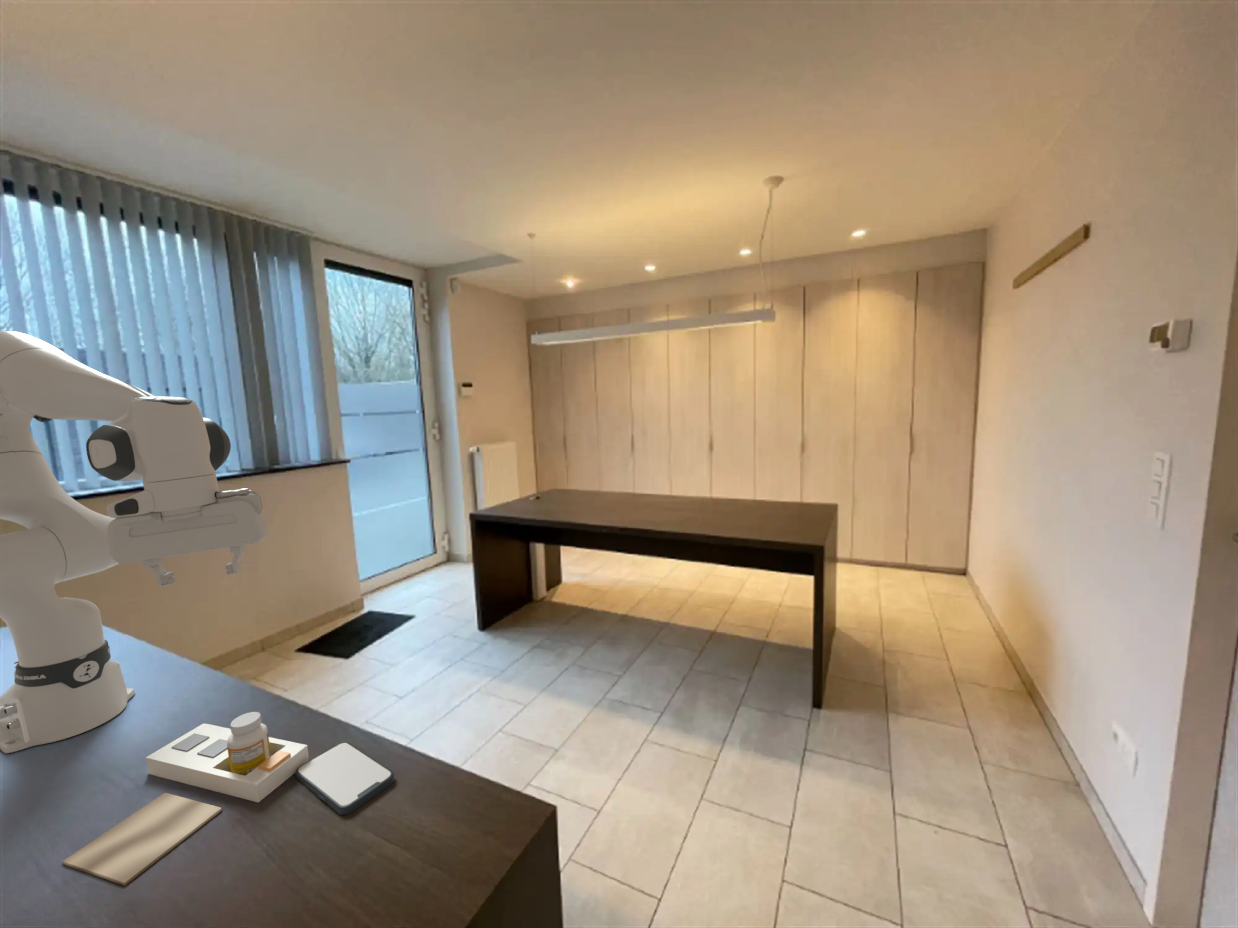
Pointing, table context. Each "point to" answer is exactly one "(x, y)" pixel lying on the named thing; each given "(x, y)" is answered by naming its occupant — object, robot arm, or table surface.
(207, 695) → the table surface
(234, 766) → the supplement bottle
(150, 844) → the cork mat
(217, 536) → the robot arm
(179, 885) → the table surface
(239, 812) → the table surface
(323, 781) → the phone case
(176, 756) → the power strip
